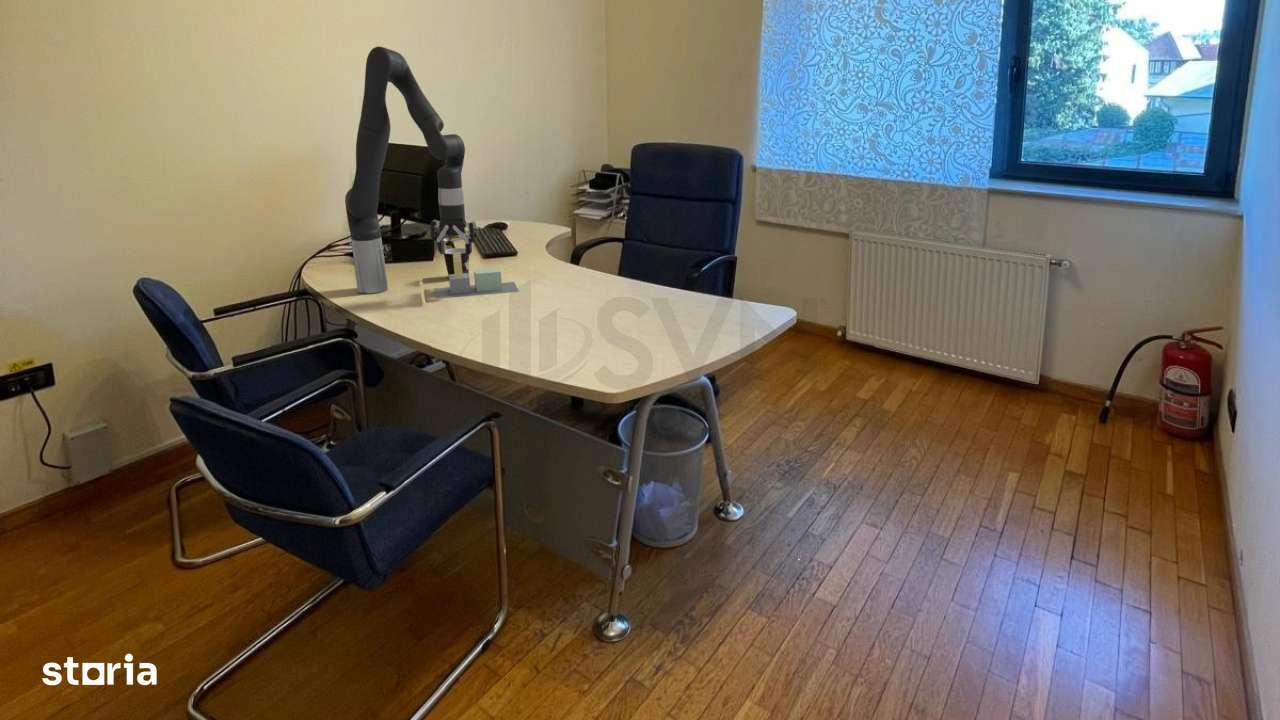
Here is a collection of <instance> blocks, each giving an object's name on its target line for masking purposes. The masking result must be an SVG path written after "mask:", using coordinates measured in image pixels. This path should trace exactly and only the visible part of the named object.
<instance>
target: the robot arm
mask: <svg viewBox="0 0 1280 720" xmlns="http://www.w3.org/2000/svg"><path fill="white" fill-rule="evenodd" d="M364 75H365V77H364V90H363V91H364V92H363V98H362V105H361V112H360V118H359V123H358V128H357V135H356V142H355V143H356V144H355V173H354V174H355V175H354V179H353V183H352V185H351V188H350V189H349V190H348V191H347V192H346V194H345V197H344V202H345V203H344V204H345V211H346V218H347V225H348V229H349V233H350V239H351V240H350V241H351V247H352V254H353V261H354V262H353V263H354V264H353V266H354V273H355V281H356V288H357V293H358V294H377V293H381V292H382V293H383V292H386V291H387V290H388V289H389V287H388V279H387V270H386V263H385V256H384V247H383V241H382V231H381V227H380V221H379V218H378V217H379V216H378V208H379V195H380V194H379V193H380V182H381V175H382V170H383V169H384V167H383V166H384V163H385V159H386V156H387V155H386V154H387V151H388V146H389V142H390V137H391V136H390V134H391V121H390V120H391V119H390V116H389V115H390V114H389V112H388V108H387V102H386V101H387V99H386V97H387V89H388V83H391V84H392V85H393V86H394V87H395V88H396V89H397V90H398V91H399V92H400V94H401V95H402V96H403V97H402V98H403V99H404V101H405V104H406V108H407V111H408V113H409V115H410V117H411V119H412V121H413V122H414V123H415V124H416V126H417V127H418V128H419V130H420V131H421V132H422V135H423V138H424V140H425V142H426V143H425V144H426V145H427V149H428V151H429V153H430V154H431V155H432V156H433V157H434V158H435V159H437V160H439V161H440V160H441V161H444V160H445V165H443V166H442V167H440V168H438V170H437V184H438V185H437V186H438V193H437V195H438V196H437V197H438V198H437V201H438V207H439V208H438V209H439V217H440V220H437V219H433V220H431V221H430V239H431V241H436V243H437V250H438V253H439V254H440V255H444V253H445V250H446V249H445V241H444V239H445V238H446V236H455V237H458V236H459V237H460V238H461V239H462V240H463V241H464V243H465V244H464V246H465V247H464V248H465V250H466V255H469V256H470V255H471V254H472V252H473V248H472V247H473V246H472V243H474V242H476V241H477V240H478V234H477V233H478V232H477V227H476V226H477V225H476V222H475V221H474V220H473V221H468V222H467V220H466V212H465V211H466V210H465V199H464V198H465V197H464V192H463V180H462V171H463V166H464V160H465V155H466V147H465V142H464V140H463V139H462V138H461V136H459V135H458V134H455V133H452V134H451V133H449V134H442V131H443V129H444V126H445V124H444V121H443V119H442V118H441V117H440V115H439V113H438V112H437V111H436V110H435V107H434V106H432V104H431V102H430V101H429V100H428V99H427V97H426V95H425V94H424V92H423V91H422V89H421V87H420V85H419V83H418V81H417V80H416V77H415V76H414V74H413V72H412V70H411V68H410V66H409V64H408V62H407V60H406V59H405V57H404V56H403V55H402V54H401V53H400V52H397V51H395V50H392V49H389V48H387V47H383V46H374V47H373V48H372V49H371V50H370V51H369V53H368V55H367V57H366V63H365V74H364ZM439 227H440V228H441V229H442V230H441V232H440V233H439V231H438V229H439ZM466 227H467V229H468V230H469V233H468V232H467V230H466Z"/></svg>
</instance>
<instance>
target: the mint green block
mask: <svg viewBox="0 0 1280 720" xmlns="http://www.w3.org/2000/svg"><path fill="white" fill-rule="evenodd" d="M473 275H474V285H475V288H476V291H477V292H484V291H496V290H502V283H503V282H502V271H501V269H500V267H499V268H498V267H495V268H483V269H482V268H481V269H480V268H479V269H473Z"/></svg>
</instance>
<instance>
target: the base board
mask: <svg viewBox="0 0 1280 720" xmlns="http://www.w3.org/2000/svg"><path fill="white" fill-rule="evenodd" d="M448 282H449V286H447V287H438V288H433V293H434V299H435V300H439V299H449V298H450V299H451V298H463V297H473V296H475V297H476V296H485V295H496V294H497V295H498V294H509V293H519V292H520V291H519V288H518V286H517V284H516V283H515V281H508V282H502V290H496V291H484V292H477V291H476V288H475V284H473V285H471V284H470V283H471V282H470V276H468V273H463V277H462V278H455V274H450V275H449V276H448Z"/></svg>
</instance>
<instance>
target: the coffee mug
mask: <svg viewBox="0 0 1280 720" xmlns="http://www.w3.org/2000/svg"><path fill="white" fill-rule="evenodd" d="M453 252H461V262H462V273H468V276H469V273H470V268H469V267H470V255H466V250H465V247H463V248H462V247H453V248H448V249H445V253H444V254H443V257H444V261H445V262H444V263H445V267H446V271H447V275H448V277H449V275H450V274H455V273H454V262H453ZM469 277H470V276H469Z"/></svg>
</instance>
